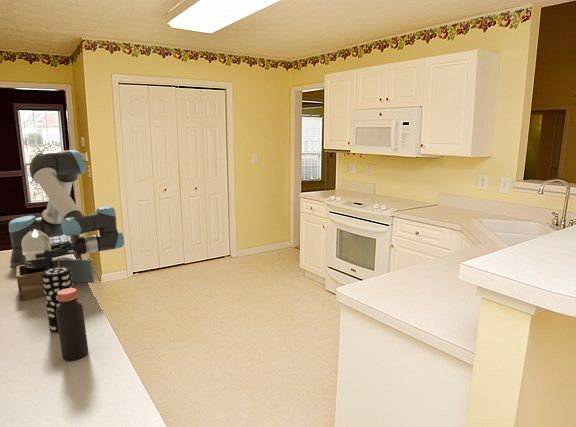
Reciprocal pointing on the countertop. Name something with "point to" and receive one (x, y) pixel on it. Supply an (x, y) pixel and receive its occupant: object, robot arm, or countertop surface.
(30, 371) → the countertop surface
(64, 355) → the vinegar
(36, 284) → the bay
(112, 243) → the robot arm
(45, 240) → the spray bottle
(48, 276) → the spotted tube
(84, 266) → the bay door
